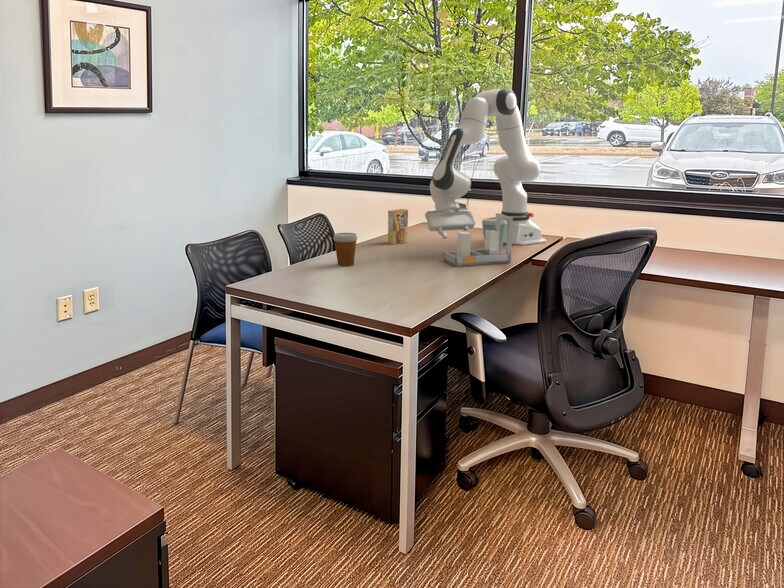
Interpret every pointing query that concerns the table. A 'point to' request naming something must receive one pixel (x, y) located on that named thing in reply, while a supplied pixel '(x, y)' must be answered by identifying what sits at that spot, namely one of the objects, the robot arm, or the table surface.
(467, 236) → the cream rectangular block
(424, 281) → the table surface
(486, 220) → the disposable coffee cup
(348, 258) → the disposable coffee cup
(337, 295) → the table surface
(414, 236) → the table surface
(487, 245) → the rack
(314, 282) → the table surface
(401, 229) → the candy box
